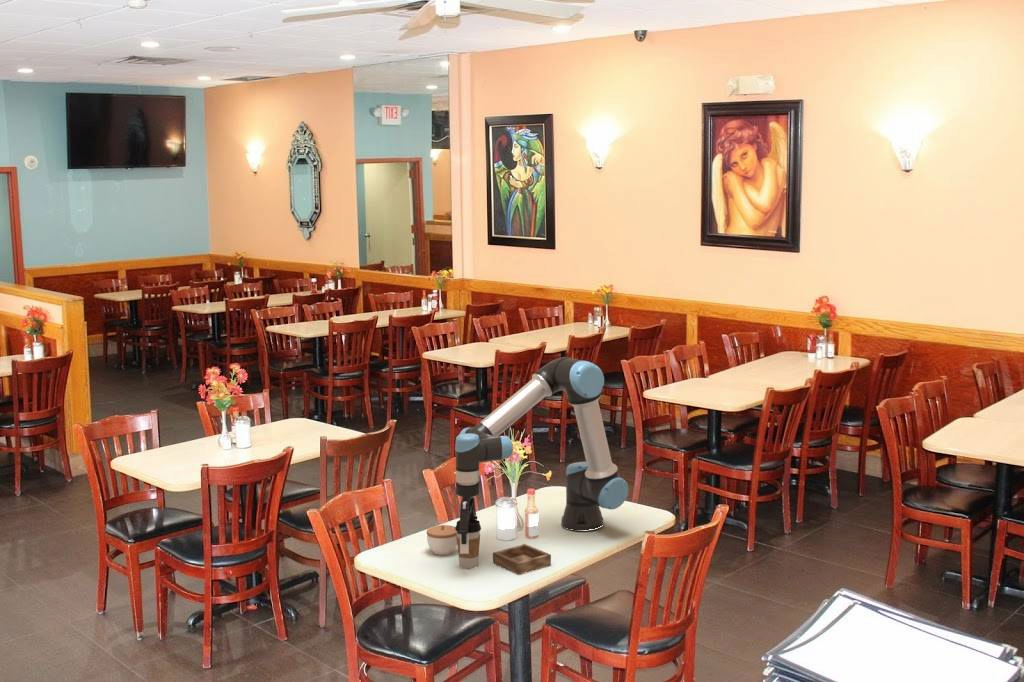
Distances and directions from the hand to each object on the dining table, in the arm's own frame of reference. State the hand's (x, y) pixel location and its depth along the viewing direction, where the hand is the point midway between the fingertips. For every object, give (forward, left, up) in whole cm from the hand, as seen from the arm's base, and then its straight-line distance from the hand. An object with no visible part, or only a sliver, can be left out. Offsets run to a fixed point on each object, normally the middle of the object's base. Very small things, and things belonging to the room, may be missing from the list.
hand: (467, 546), depth 339 cm
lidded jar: (-1, -16, -7) cm, 17 cm away
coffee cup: (0, 0, -7) cm, 7 cm away
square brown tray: (-14, +10, -7) cm, 19 cm away
